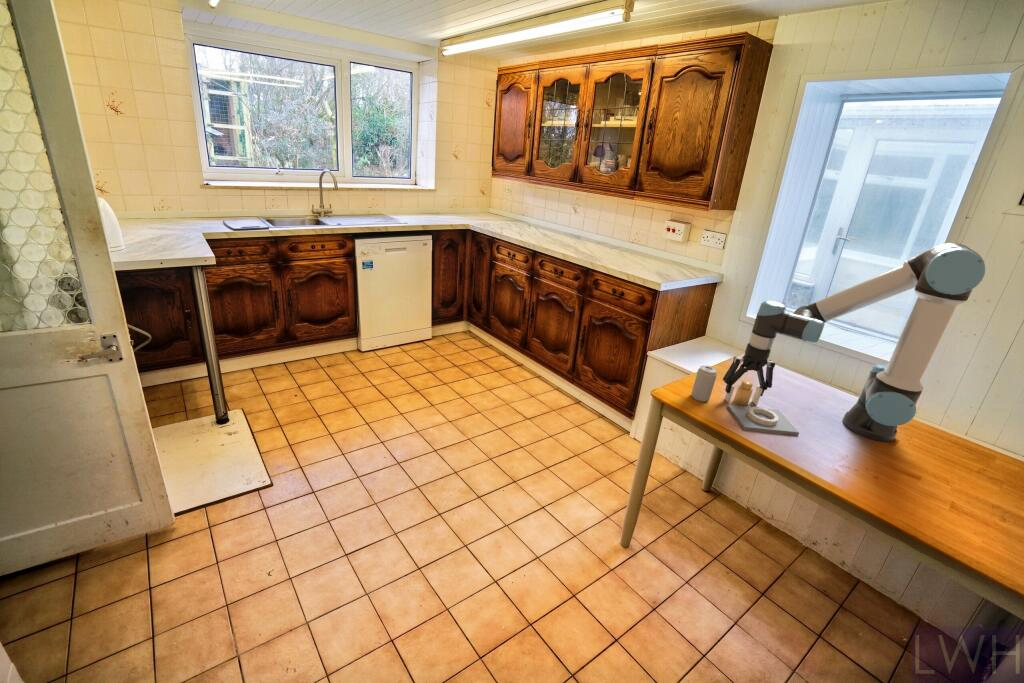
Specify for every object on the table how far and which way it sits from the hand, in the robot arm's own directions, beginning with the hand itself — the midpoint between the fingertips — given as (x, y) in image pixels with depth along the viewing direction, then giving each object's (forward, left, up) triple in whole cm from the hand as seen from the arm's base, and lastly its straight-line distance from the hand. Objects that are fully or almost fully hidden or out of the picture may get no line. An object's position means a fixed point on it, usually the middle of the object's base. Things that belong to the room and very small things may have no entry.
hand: (740, 401), depth 172 cm
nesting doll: (0, 0, 0) cm, 0 cm away
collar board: (-2, +12, 0) cm, 12 cm away
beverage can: (+15, 0, 0) cm, 15 cm away
